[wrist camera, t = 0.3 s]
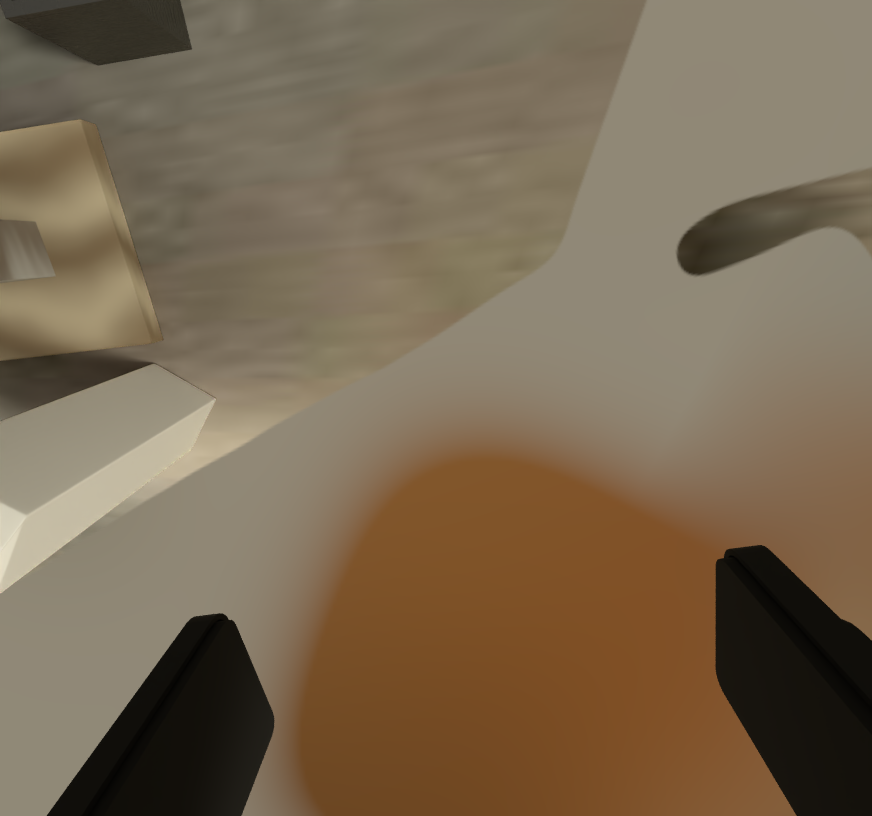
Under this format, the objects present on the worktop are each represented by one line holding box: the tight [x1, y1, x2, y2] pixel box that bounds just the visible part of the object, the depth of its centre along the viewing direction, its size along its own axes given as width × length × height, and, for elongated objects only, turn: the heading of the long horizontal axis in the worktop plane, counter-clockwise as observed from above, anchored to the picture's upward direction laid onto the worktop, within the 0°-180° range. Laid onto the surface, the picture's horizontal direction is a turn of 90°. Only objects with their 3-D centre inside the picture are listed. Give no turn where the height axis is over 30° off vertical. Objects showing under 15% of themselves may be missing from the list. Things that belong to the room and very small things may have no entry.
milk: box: [0, 364, 216, 593], centre depth 30 cm, size 6×6×22 cm
